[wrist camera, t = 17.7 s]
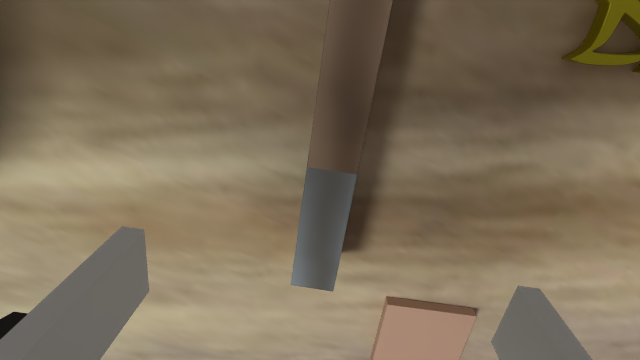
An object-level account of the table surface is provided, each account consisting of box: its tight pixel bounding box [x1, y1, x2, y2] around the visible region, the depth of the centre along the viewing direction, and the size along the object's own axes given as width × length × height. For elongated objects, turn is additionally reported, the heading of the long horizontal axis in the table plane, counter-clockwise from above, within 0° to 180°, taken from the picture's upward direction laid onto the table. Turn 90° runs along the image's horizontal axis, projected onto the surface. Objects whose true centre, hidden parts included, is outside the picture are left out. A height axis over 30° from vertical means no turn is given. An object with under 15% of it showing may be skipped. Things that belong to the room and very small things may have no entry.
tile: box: [371, 297, 477, 360], centre depth 42 cm, size 10×2×10 cm
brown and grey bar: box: [291, 0, 393, 291], centre depth 30 cm, size 4×28×6 cm, turn 172°
